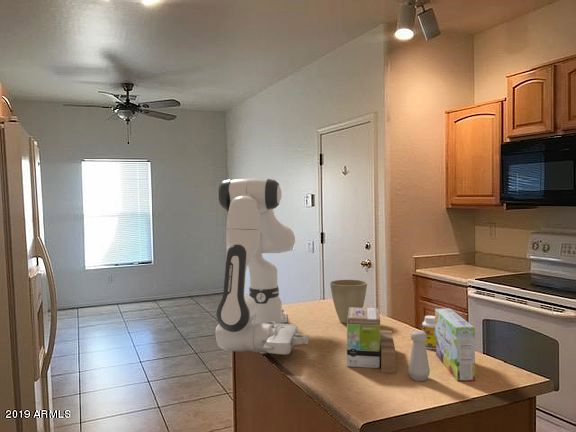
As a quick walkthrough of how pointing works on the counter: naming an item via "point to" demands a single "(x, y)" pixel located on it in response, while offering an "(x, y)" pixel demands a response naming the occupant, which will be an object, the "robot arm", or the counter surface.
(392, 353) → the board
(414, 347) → the salt shaker
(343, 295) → the plant pot
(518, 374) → the counter surface
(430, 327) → the supplement bottle
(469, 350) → the snack box
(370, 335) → the tea box
